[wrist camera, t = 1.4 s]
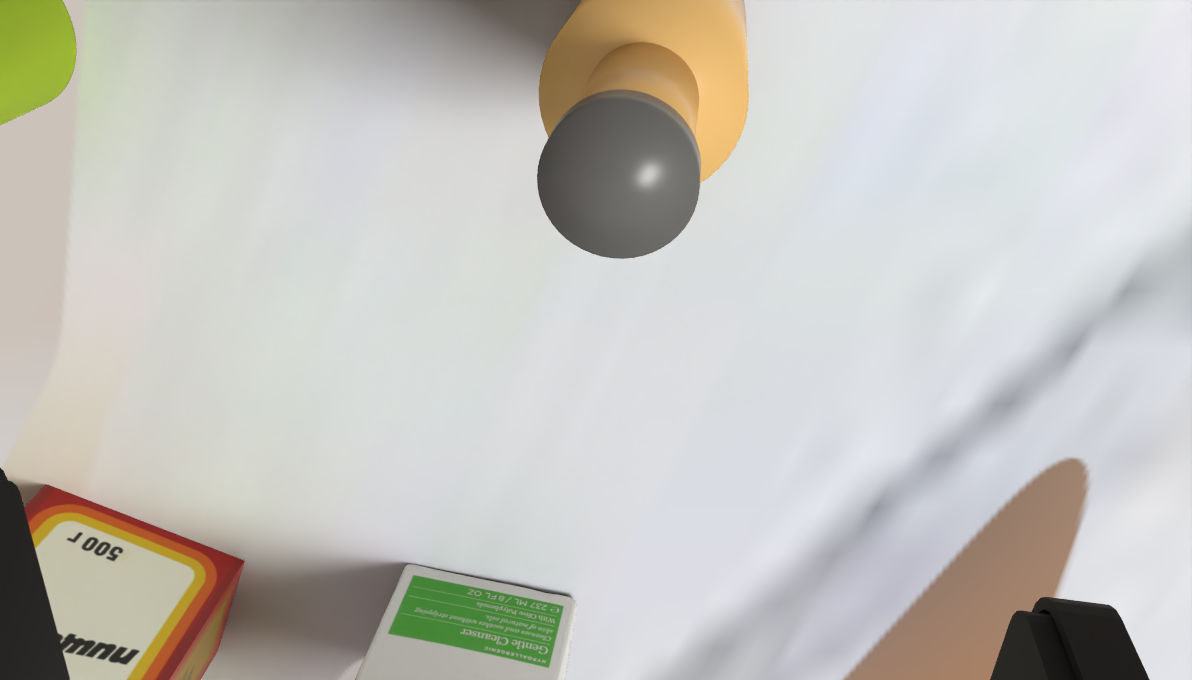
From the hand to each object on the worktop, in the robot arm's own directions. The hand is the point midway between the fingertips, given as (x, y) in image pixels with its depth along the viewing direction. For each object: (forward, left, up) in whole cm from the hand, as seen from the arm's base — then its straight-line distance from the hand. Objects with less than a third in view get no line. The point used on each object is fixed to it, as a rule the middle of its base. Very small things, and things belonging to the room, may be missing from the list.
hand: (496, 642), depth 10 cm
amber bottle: (0, 0, -27) cm, 27 cm away
